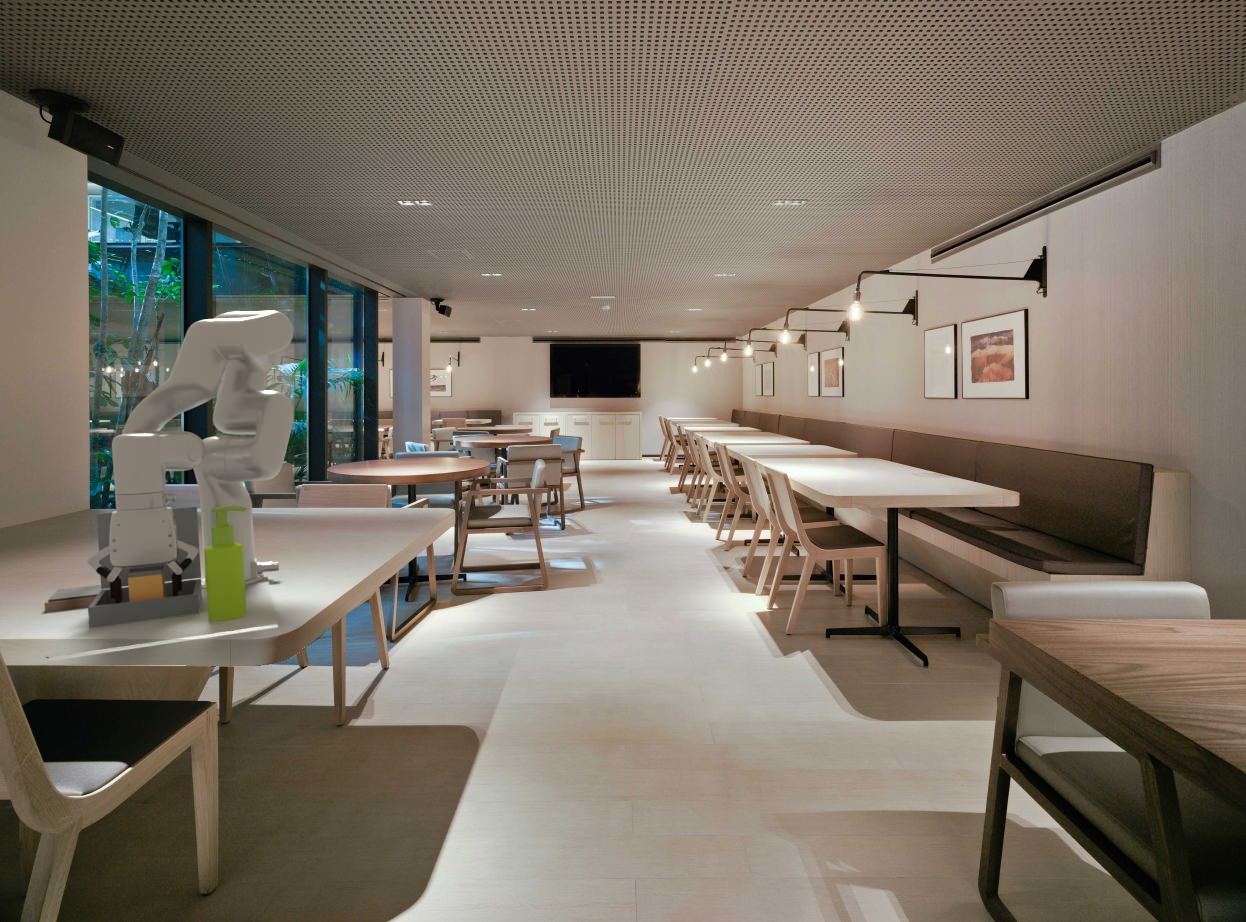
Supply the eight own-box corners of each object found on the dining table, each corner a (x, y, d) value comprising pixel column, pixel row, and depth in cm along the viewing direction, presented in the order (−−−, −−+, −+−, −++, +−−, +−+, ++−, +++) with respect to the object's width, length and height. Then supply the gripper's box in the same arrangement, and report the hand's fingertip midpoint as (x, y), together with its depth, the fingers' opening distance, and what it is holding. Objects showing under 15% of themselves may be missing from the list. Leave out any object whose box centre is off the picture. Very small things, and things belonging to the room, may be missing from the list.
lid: (200, 577, 140) (201, 576, 141) (196, 506, 140) (197, 506, 141) (101, 588, 132) (102, 588, 134) (96, 513, 132) (98, 513, 134)
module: (166, 607, 132) (163, 564, 132) (164, 613, 128) (161, 569, 127) (134, 611, 130) (131, 568, 129) (130, 618, 126) (127, 573, 125)
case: (202, 598, 140) (201, 578, 140) (199, 616, 128) (198, 594, 128) (102, 611, 133) (101, 590, 132) (89, 631, 120) (87, 607, 120)
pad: (118, 594, 144) (118, 582, 144) (111, 606, 136) (110, 593, 136) (57, 602, 140) (56, 589, 139) (45, 614, 131) (44, 600, 131)
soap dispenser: (249, 621, 124) (242, 507, 123) (204, 625, 122) (197, 510, 121) (256, 612, 130) (249, 503, 128) (213, 616, 128) (206, 506, 126)
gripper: (198, 496, 135) (204, 587, 136) (85, 504, 127) (92, 600, 128) (197, 500, 128) (202, 596, 130) (77, 508, 120) (84, 610, 121)
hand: (147, 597), depth 129 cm, fingers open, 8 cm apart
